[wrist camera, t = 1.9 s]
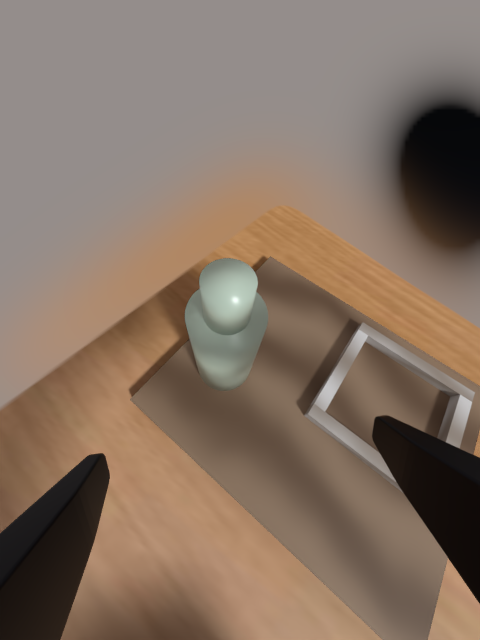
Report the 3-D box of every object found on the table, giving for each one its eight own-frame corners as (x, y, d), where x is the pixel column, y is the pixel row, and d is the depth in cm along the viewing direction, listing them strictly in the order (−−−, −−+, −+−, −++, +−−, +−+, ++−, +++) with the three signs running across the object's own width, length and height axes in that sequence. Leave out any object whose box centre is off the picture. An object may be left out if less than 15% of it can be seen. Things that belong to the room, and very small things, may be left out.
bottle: (228, 402, 20) (237, 348, 9) (186, 367, 21) (153, 285, 11) (260, 360, 22) (299, 276, 11) (221, 330, 23) (222, 228, 12)
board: (406, 660, 15) (432, 689, 13) (133, 401, 20) (125, 397, 19) (478, 394, 23) (499, 389, 21) (268, 262, 29) (272, 250, 27)
